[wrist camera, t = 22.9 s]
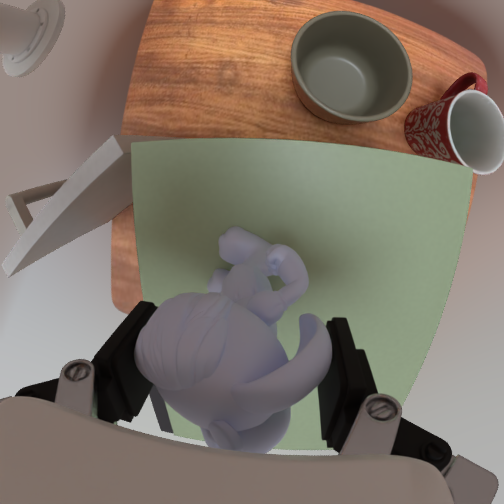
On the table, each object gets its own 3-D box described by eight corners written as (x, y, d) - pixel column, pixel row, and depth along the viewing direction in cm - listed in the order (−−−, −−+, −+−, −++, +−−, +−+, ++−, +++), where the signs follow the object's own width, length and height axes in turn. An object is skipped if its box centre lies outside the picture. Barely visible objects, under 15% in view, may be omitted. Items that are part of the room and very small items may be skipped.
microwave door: (86, 184, 40) (-21, 219, 20) (180, 105, 35) (81, 75, 15) (108, 222, 42) (8, 278, 22) (207, 149, 37) (123, 153, 17)
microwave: (200, 324, 46) (153, 430, 26) (195, 144, 37) (100, 146, 16) (350, 334, 44) (378, 446, 24) (377, 154, 35) (473, 168, 14)
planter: (360, 145, 35) (388, 144, 24) (274, 104, 34) (270, 87, 24) (392, 70, 30) (426, 49, 20) (309, 30, 30) (317, -7, 19)
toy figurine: (215, 202, 17) (97, 307, 6) (320, 235, 17) (372, 389, 6) (191, 300, 19) (111, 447, 8) (282, 328, 19) (272, 495, 8)
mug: (439, 175, 34) (495, 191, 22) (389, 145, 34) (436, 146, 21) (463, 104, 30) (520, 96, 17) (416, 70, 30) (465, 46, 17)
